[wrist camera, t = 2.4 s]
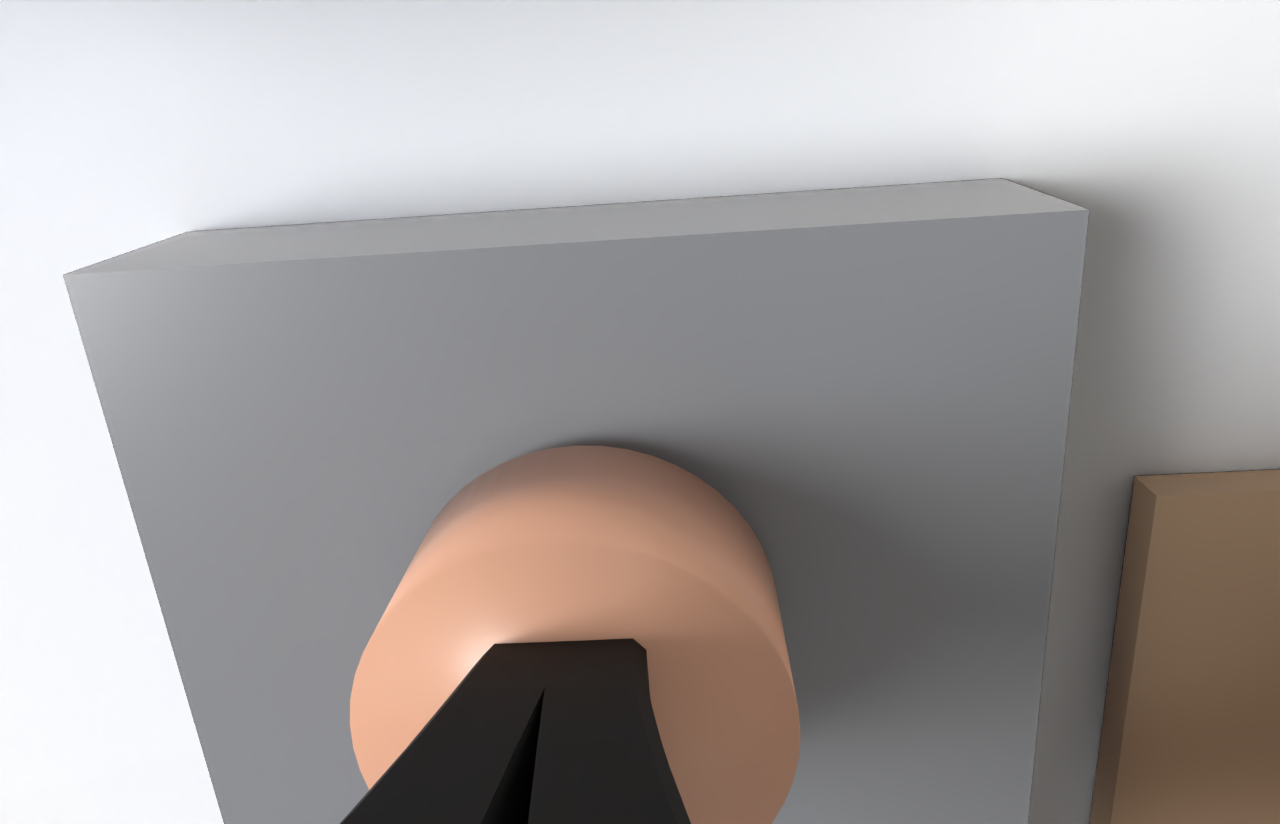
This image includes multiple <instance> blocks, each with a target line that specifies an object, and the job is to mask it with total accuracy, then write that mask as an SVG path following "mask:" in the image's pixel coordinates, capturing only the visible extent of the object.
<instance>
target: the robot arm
mask: <svg viewBox="0 0 1280 824" xmlns="http://www.w3.org/2000/svg"><path fill="white" fill-rule="evenodd" d="M340 824H691V822H690V820H689V817H688V814H687V812H686V809H685V806H684V804H683V801H682V798H681V796H680V793H679V790H678V788H677V785H676V782H675V780H674V777H673V774H672V772H671V769H670V766H669V763H668V760H667V757H666V754H665V751H664V748H663V745H662V741H661V738H660V734H659V731H658V727H657V723H656V720H655V716H654V712H653V708H652V704H651V699H650V689H649V676H648V664H647V651H646V649H645V648H644V647H643V646H641V645H640V644H639V643H638V642H637V641H635V640H634V639H633V638H629V639H605V640H582V641H556V642H529V643H502V644H494V645H493V646H492V647H491V648H490V649H489V650H488V651H487V652H486V653H485V654H484V655H483V656H482V657H481V658H480V660H479V661H478V662H477V663H476V664H475V665H474V667H473V668H472V669H471V670H470V672H469V673H468V674H467V675H466V676H465V678H464V679H463V680H462V681H461V683H460V684H459V685H458V686H457V687H456V689H455V690H454V691H453V692H452V694H451V695H450V696H449V697H448V698H447V700H446V701H445V702H444V703H443V705H442V706H441V707H440V708H439V709H438V711H437V712H436V713H435V714H434V715H433V717H432V718H431V719H430V720H429V721H428V723H427V724H426V725H425V726H424V727H423V729H422V730H421V731H420V732H419V733H418V735H417V736H416V737H415V738H414V739H413V741H412V742H411V743H410V744H409V745H408V746H407V748H406V749H405V750H404V751H403V752H402V753H401V755H400V756H399V757H398V758H397V759H396V760H395V761H394V763H393V764H392V765H391V766H390V767H389V768H388V769H387V771H386V772H385V773H384V774H383V775H382V776H381V777H380V778H379V780H378V781H377V782H376V783H375V784H374V785H373V786H372V788H371V789H370V790H369V791H368V792H367V793H366V794H365V796H364V797H363V798H362V799H361V800H360V801H359V802H358V803H357V805H356V806H355V807H354V808H353V809H352V810H351V811H350V813H349V814H348V815H347V816H346V817H345V818H344V819H343V820H342V821H341V822H340Z"/></svg>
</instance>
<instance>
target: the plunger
mask: <svg viewBox="0 0 1280 824" xmlns="http://www.w3.org/2000/svg"><path fill="white" fill-rule="evenodd" d="M629 638H633V639H634V640H635V641H637V642H638V643H639V644H640V645H641V646H643V647H644V648H645V649H646V651H647V664H648V676H649V689H650V699H651V704H652V708H653V712H654V716H655V720H656V723H657V727H658V731H659V734H660V738H661V741H662V745H663V748H664V751H665V754H666V757H667V760H668V763H669V766H670V769H671V772H672V774H673V777H674V780H675V782H676V785H677V788H678V790H679V793H680V796H681V798H682V801H683V804H684V806H685V809H686V812H687V814H688V817H689V820H690V822H691V824H772V822H773V821H774V819H775V817H776V816H777V814H778V812H779V811H780V809H781V807H782V806H783V804H784V802H785V800H786V798H787V795H788V793H789V790H790V788H791V785H792V783H793V781H794V776H795V772H796V768H797V764H798V759H799V750H800V736H801V732H800V721H799V710H798V704H797V699H796V694H795V688H794V683H793V678H792V672H791V667H790V662H789V656H788V651H787V646H786V640H785V635H784V630H783V625H782V619H781V614H780V609H779V603H778V598H777V593H776V587H775V583H774V579H773V575H772V571H771V567H770V564H769V562H768V559H767V557H766V555H765V552H764V550H763V548H762V545H761V543H760V542H759V540H758V538H757V537H756V535H755V534H754V532H753V530H752V529H751V527H750V525H749V524H748V523H747V522H746V520H745V519H744V518H743V517H742V515H741V514H740V513H739V512H738V511H737V509H736V508H735V507H734V506H733V505H732V504H731V503H730V502H729V501H728V500H726V499H725V498H724V497H723V496H722V495H721V494H720V493H719V492H718V491H717V490H715V489H714V488H713V487H711V486H710V485H708V484H707V483H706V482H704V481H703V480H701V479H700V478H699V477H697V476H695V475H693V474H692V473H690V472H688V471H686V470H684V469H682V468H680V467H679V466H677V465H675V464H672V463H670V462H667V461H664V460H662V459H659V458H657V457H654V456H652V455H648V454H644V453H640V452H636V451H632V450H628V449H622V448H614V447H607V446H576V445H575V446H566V447H557V448H549V449H545V450H541V451H537V452H533V453H529V454H525V455H522V456H520V457H517V458H514V459H512V460H509V461H506V462H504V463H502V464H500V465H498V466H496V467H494V468H492V469H490V470H489V471H487V472H485V473H483V474H481V475H480V476H479V477H477V478H476V479H474V480H473V481H472V482H470V483H469V484H468V485H466V486H465V487H463V488H462V489H461V490H460V491H459V492H458V493H457V494H456V495H455V496H454V497H453V498H452V499H451V500H450V501H449V502H448V503H447V504H446V505H445V506H444V508H443V509H442V510H441V512H440V513H439V514H438V516H437V517H436V518H435V519H434V521H433V522H432V524H431V526H430V528H429V530H428V531H427V533H426V535H425V537H424V539H423V540H422V542H421V544H420V546H419V548H418V550H417V552H416V554H415V556H414V557H413V559H412V561H411V563H410V565H409V567H408V569H407V571H406V572H405V574H404V576H403V578H402V580H401V582H400V584H399V586H398V587H397V589H396V591H395V593H394V595H393V597H392V599H391V601H390V603H389V604H388V606H387V608H386V610H385V612H384V614H383V616H382V618H381V620H380V621H379V623H378V625H377V627H376V629H375V631H374V633H373V635H372V636H371V638H370V640H369V642H368V644H367V646H366V648H365V650H364V652H363V654H362V656H361V659H360V662H359V665H358V668H357V670H356V673H355V676H354V682H353V687H352V693H351V698H350V729H351V736H352V743H353V749H354V752H355V755H356V759H357V762H358V765H359V769H360V771H361V773H362V776H363V778H364V780H365V782H366V784H367V786H368V788H369V790H370V789H371V788H372V786H373V785H374V784H375V783H376V782H377V781H378V780H379V778H380V777H381V776H382V775H383V774H384V773H385V772H386V771H387V769H388V768H389V767H390V766H391V765H392V764H393V763H394V761H395V760H396V759H397V758H398V757H399V756H400V755H401V753H402V752H403V751H404V750H405V749H406V748H407V746H408V745H409V744H410V743H411V742H412V741H413V739H414V738H415V737H416V736H417V735H418V733H419V732H420V731H421V730H422V729H423V727H424V726H425V725H426V724H427V723H428V721H429V720H430V719H431V718H432V717H433V715H434V714H435V713H436V712H437V711H438V709H439V708H440V707H441V706H442V705H443V703H444V702H445V701H446V700H447V698H448V697H449V696H450V695H451V694H452V692H453V691H454V690H455V689H456V687H457V686H458V685H459V684H460V683H461V681H462V680H463V679H464V678H465V676H466V675H467V674H468V673H469V672H470V670H471V669H472V668H473V667H474V665H475V664H476V663H477V662H478V661H479V660H480V658H481V657H482V656H483V655H484V654H485V653H486V652H487V651H488V650H489V649H490V648H491V647H492V646H493V645H494V644H502V643H529V642H556V641H582V640H605V639H629Z"/></svg>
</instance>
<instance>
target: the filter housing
mask: <svg viewBox="0 0 1280 824" xmlns="http://www.w3.org/2000/svg"><path fill="white" fill-rule="evenodd" d="M1088 219H1089V209H1086V208H1083V207H1081V206H1078V205H1075V204H1072V203H1070V202H1067V201H1064V200H1061V199H1058V198H1056V197H1053V196H1050V195H1047V194H1044V193H1042V192H1039V191H1036V190H1033V189H1030V188H1028V187H1025V186H1022V185H1019V184H1016V183H1014V182H1011V181H1008V180H1005V179H1002V178H996V179H981V180H966V181H951V182H935V183H920V184H905V185H890V186H875V187H859V188H844V189H829V190H814V191H799V192H784V193H768V194H753V195H738V196H723V197H708V198H692V199H677V200H662V201H647V202H632V203H617V204H601V205H586V206H571V207H556V208H541V209H526V210H510V211H495V212H480V213H465V214H450V215H434V216H419V217H404V218H389V219H374V220H359V221H343V222H328V223H313V224H298V225H283V226H267V227H252V228H237V229H222V230H207V231H192V232H185V233H182V234H179V235H176V236H173V237H171V238H168V239H165V240H162V241H159V242H156V243H153V244H150V245H147V246H145V247H142V248H139V249H136V250H133V251H130V252H127V253H124V254H122V255H119V256H116V257H113V258H110V259H107V260H104V261H101V262H98V263H96V264H93V265H90V266H87V267H84V268H81V269H78V270H75V271H73V272H70V273H67V274H64V275H63V277H64V280H65V284H66V287H67V291H68V294H69V297H70V301H71V304H72V308H73V311H74V314H75V318H76V321H77V325H78V328H79V331H80V335H81V338H82V342H83V345H84V348H85V352H86V355H87V359H88V362H89V365H90V369H91V372H92V376H93V379H94V382H95V386H96V389H97V393H98V396H99V399H100V403H101V406H102V410H103V413H104V416H105V420H106V423H107V427H108V430H109V433H110V437H111V440H112V444H113V447H114V451H115V454H116V457H117V461H118V464H119V468H120V471H121V474H122V478H123V481H124V485H125V488H126V491H127V495H128V498H129V502H130V505H131V508H132V512H133V515H134V519H135V522H136V525H137V529H138V532H139V536H140V539H141V542H142V546H143V549H144V553H145V556H146V559H147V563H148V566H149V570H150V573H151V576H152V580H153V583H154V587H155V590H156V594H157V597H158V600H159V604H160V607H161V611H162V614H163V617H164V621H165V624H166V628H167V631H168V634H169V638H170V641H171V645H172V648H173V651H174V655H175V658H176V662H177V665H178V668H179V672H180V675H181V679H182V682H183V685H184V689H185V692H186V696H187V699H188V702H189V706H190V709H191V713H192V716H193V719H194V723H195V726H196V730H197V733H198V737H199V740H200V743H201V747H202V750H203V754H204V757H205V760H206V764H207V767H208V771H209V774H210V777H211V781H212V784H213V788H214V791H215V794H216V798H217V801H218V805H219V808H220V811H221V815H222V818H223V822H224V824H340V822H341V821H342V820H343V819H344V818H345V817H346V816H347V815H348V814H349V813H350V811H351V810H352V809H353V808H354V807H355V806H356V805H357V803H358V802H359V801H360V800H361V799H362V798H363V797H364V796H365V794H366V793H367V792H368V791H369V788H368V786H367V784H366V782H365V780H364V778H363V776H362V773H361V771H360V769H359V765H358V762H357V759H356V755H355V752H354V749H353V743H352V736H351V729H350V698H351V693H352V687H353V682H354V676H355V673H356V670H357V668H358V665H359V662H360V659H361V656H362V654H363V652H364V650H365V648H366V646H367V644H368V642H369V640H370V638H371V636H372V635H373V633H374V631H375V629H376V627H377V625H378V623H379V621H380V620H381V618H382V616H383V614H384V612H385V610H386V608H387V606H388V604H389V603H390V601H391V599H392V597H393V595H394V593H395V591H396V589H397V587H398V586H399V584H400V582H401V580H402V578H403V576H404V574H405V572H406V571H407V569H408V567H409V565H410V563H411V561H412V559H413V557H414V556H415V554H416V552H417V550H418V548H419V546H420V544H421V542H422V540H423V539H424V537H425V535H426V533H427V531H428V530H429V528H430V526H431V524H432V522H433V521H434V519H435V518H436V517H437V516H438V514H439V513H440V512H441V510H442V509H443V508H444V506H445V505H446V504H447V503H448V502H449V501H450V500H451V499H452V498H453V497H454V496H455V495H456V494H457V493H458V492H459V491H460V490H461V489H462V488H463V487H465V486H466V485H468V484H469V483H470V482H472V481H473V480H474V479H476V478H477V477H479V476H480V475H481V474H483V473H485V472H487V471H489V470H490V469H492V468H494V467H496V466H498V465H500V464H502V463H504V462H506V461H509V460H512V459H514V458H517V457H520V456H522V455H525V454H529V453H533V452H537V451H541V450H545V449H549V448H557V447H566V446H575V445H576V446H607V447H614V448H622V449H628V450H632V451H636V452H640V453H644V454H648V455H652V456H654V457H657V458H659V459H662V460H664V461H667V462H670V463H672V464H675V465H677V466H679V467H680V468H682V469H684V470H686V471H688V472H690V473H692V474H693V475H695V476H697V477H699V478H700V479H701V480H703V481H704V482H706V483H707V484H708V485H710V486H711V487H713V488H714V489H715V490H717V491H718V492H719V493H720V494H721V495H722V496H723V497H724V498H725V499H726V500H728V501H729V502H730V503H731V504H732V505H733V506H734V507H735V508H736V509H737V511H738V512H739V513H740V514H741V515H742V517H743V518H744V519H745V520H746V522H747V523H748V524H749V525H750V527H751V529H752V530H753V532H754V534H755V535H756V537H757V538H758V540H759V542H760V543H761V545H762V548H763V550H764V552H765V555H766V557H767V559H768V562H769V564H770V567H771V571H772V575H773V579H774V583H775V587H776V593H777V598H778V603H779V609H780V614H781V619H782V625H783V630H784V635H785V640H786V646H787V651H788V656H789V662H790V667H791V672H792V678H793V683H794V688H795V694H796V699H797V704H798V710H799V721H800V732H801V736H800V750H799V759H798V764H797V768H796V772H795V776H794V781H793V783H792V785H791V788H790V790H789V793H788V795H787V798H786V800H785V802H784V804H783V806H782V807H781V809H780V811H779V812H778V814H777V816H776V817H775V819H774V821H773V822H772V824H1028V817H1029V807H1030V797H1031V787H1032V777H1033V767H1034V757H1035V747H1036V737H1037V727H1038V717H1039V707H1040V697H1041V687H1042V677H1043V667H1044V658H1045V648H1046V638H1047V628H1048V618H1049V608H1050V598H1051V588H1052V578H1053V568H1054V558H1055V548H1056V538H1057V528H1058V518H1059V508H1060V498H1061V488H1062V478H1063V468H1064V458H1065V448H1066V438H1067V428H1068V418H1069V408H1070V398H1071V388H1072V378H1073V368H1074V358H1075V348H1076V338H1077V328H1078V318H1079V308H1080V298H1081V289H1082V279H1083V269H1084V259H1085V249H1086V239H1087V229H1088Z"/></svg>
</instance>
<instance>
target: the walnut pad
mask: <svg viewBox="0 0 1280 824" xmlns="http://www.w3.org/2000/svg"><path fill="white" fill-rule="evenodd" d="M1089 824H1280V469H1278V470H1256V471H1235V472H1214V473H1192V474H1171V475H1149V476H1135V478H1134V486H1133V493H1132V501H1131V509H1130V516H1129V524H1128V532H1127V539H1126V547H1125V555H1124V562H1123V570H1122V578H1121V585H1120V593H1119V601H1118V608H1117V616H1116V624H1115V631H1114V639H1113V647H1112V654H1111V662H1110V670H1109V677H1108V685H1107V693H1106V700H1105V708H1104V716H1103V723H1102V731H1101V739H1100V746H1099V754H1098V762H1097V769H1096V777H1095V785H1094V792H1093V800H1092V808H1091V815H1090V823H1089Z"/></svg>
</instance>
